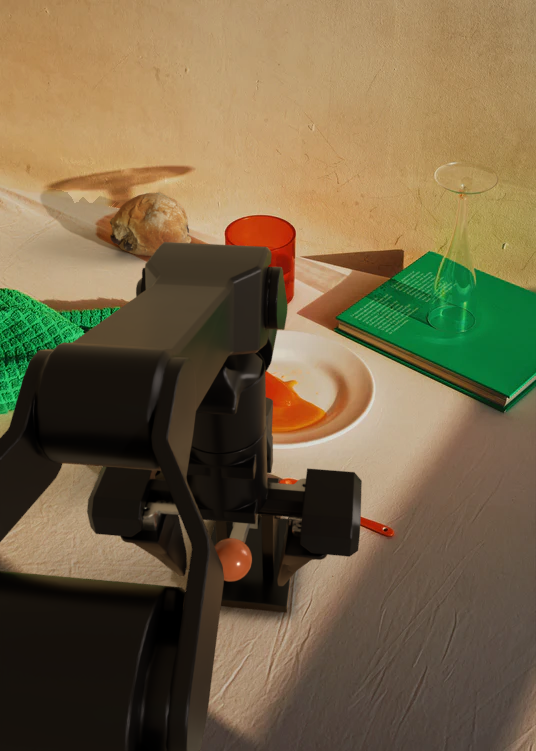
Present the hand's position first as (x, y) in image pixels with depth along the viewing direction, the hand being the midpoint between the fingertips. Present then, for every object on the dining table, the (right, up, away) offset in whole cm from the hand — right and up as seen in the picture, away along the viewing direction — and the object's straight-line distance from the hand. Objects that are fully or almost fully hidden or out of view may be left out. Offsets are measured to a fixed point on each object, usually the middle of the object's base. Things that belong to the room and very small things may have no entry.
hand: (232, 576), depth 57 cm
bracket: (+1, -2, +12) cm, 12 cm away
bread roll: (-18, +36, +64) cm, 76 cm away
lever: (0, +1, +3) cm, 4 cm away
